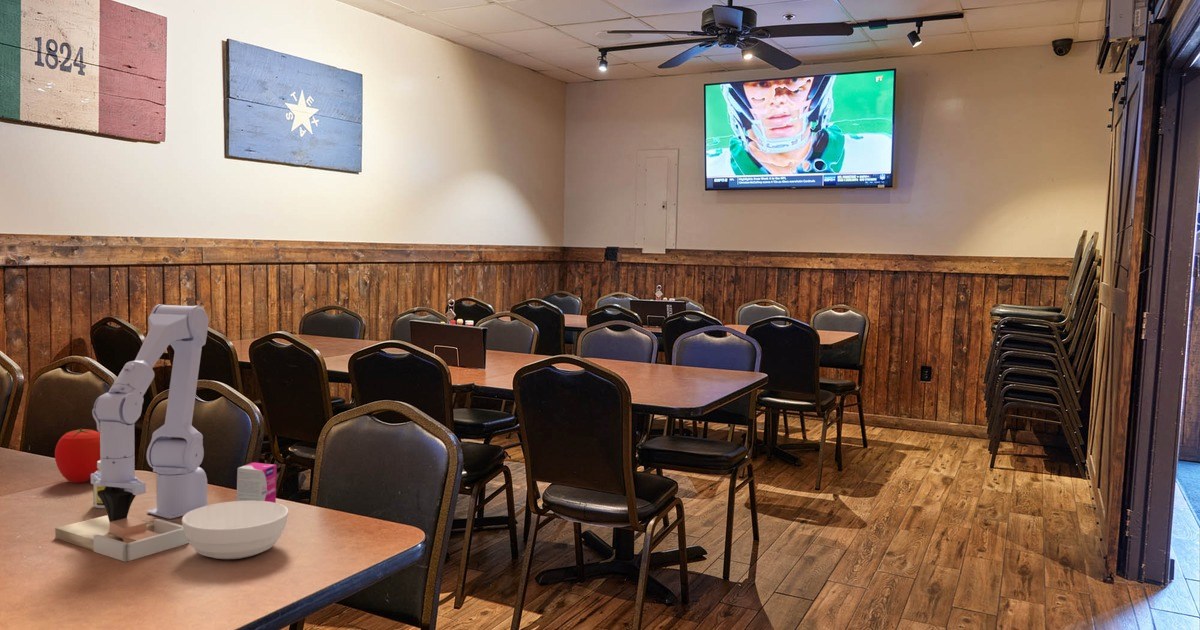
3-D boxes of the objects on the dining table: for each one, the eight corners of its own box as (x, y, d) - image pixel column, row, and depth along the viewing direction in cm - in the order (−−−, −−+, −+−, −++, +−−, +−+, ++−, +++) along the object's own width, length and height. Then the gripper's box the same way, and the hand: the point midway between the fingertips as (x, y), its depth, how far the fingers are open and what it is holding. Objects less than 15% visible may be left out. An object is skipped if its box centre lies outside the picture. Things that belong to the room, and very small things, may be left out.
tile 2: (145, 540, 166) (145, 529, 165) (160, 544, 163) (160, 534, 163) (123, 546, 162) (123, 536, 162) (137, 551, 159) (137, 540, 159)
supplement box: (261, 525, 178) (261, 470, 177) (235, 522, 179) (235, 467, 178) (276, 517, 183) (277, 463, 183) (251, 514, 185) (251, 461, 184)
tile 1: (132, 526, 168) (132, 516, 168) (146, 532, 166) (146, 522, 165) (109, 532, 164) (109, 521, 164) (123, 538, 162) (123, 528, 161)
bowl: (308, 544, 167) (308, 507, 167) (240, 575, 150) (240, 534, 150) (232, 531, 173) (232, 496, 173) (158, 560, 156) (158, 521, 156)
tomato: (77, 474, 213) (76, 422, 212) (118, 477, 212) (118, 425, 211) (43, 486, 201) (42, 431, 201) (86, 489, 200) (86, 434, 199)
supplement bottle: (127, 504, 189) (126, 460, 188) (101, 510, 184) (101, 465, 184) (113, 500, 192) (113, 456, 191) (88, 506, 187) (88, 461, 187)
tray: (157, 533, 170) (157, 518, 170) (189, 542, 166) (189, 527, 166) (93, 551, 160) (93, 535, 159) (125, 561, 155) (125, 545, 155)
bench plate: (116, 522, 177) (116, 512, 176) (156, 534, 170) (156, 524, 170) (55, 538, 166) (55, 527, 166) (95, 551, 160) (95, 540, 160)
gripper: (74, 454, 165) (75, 524, 166) (119, 465, 158) (120, 538, 159) (110, 447, 172) (111, 515, 172) (156, 457, 164) (156, 528, 165)
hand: (118, 525), depth 166 cm, fingers closed
